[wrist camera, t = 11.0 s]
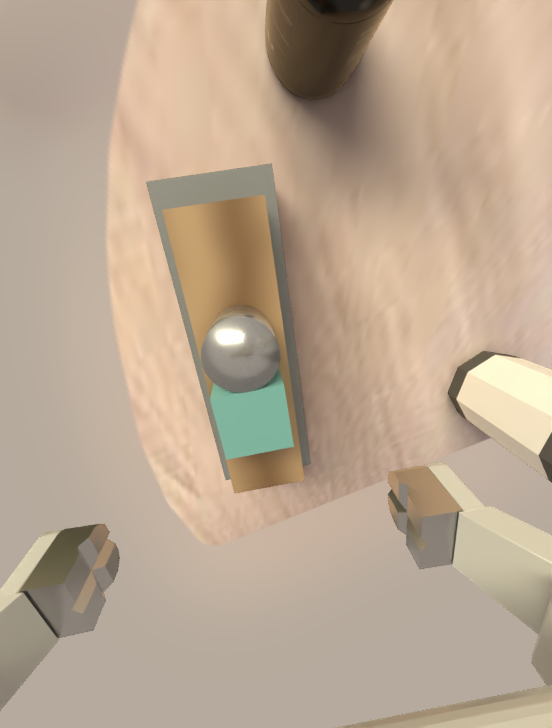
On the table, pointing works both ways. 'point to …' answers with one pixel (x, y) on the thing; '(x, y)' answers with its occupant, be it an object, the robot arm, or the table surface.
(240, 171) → the dock
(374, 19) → the supplement bottle
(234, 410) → the mint green cube
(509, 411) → the wine bottle
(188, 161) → the table surface
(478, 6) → the table surface
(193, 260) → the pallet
